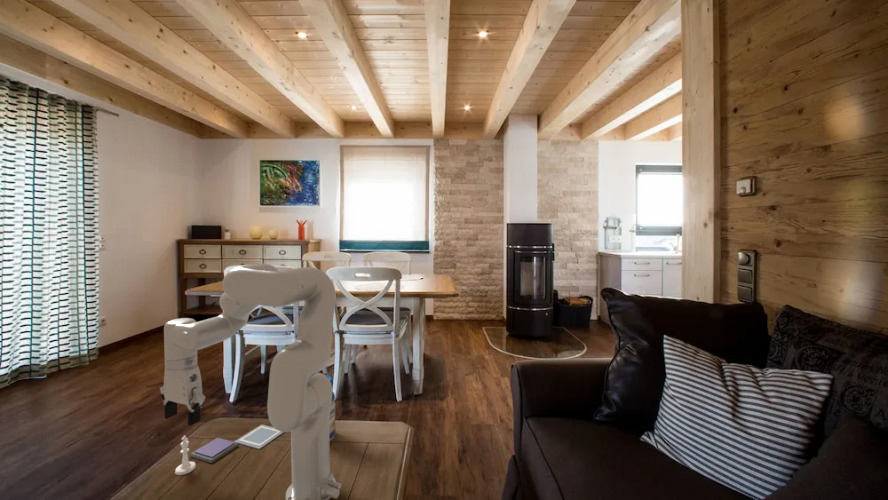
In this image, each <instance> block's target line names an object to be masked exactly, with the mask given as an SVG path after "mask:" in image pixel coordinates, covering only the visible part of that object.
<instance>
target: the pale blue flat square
mask: <svg viewBox="0 0 888 500" xmlns="http://www.w3.org/2000/svg"><path fill="white" fill-rule="evenodd" d="M284 433H285V432H281V431H278V430H277V429H275V428H274V427H273V426H269V425H266V424H259V426H256V427H255V428H253V429H252V430H250V431H249V432H247V433H245V434H244V435H242V436H241V437H239V438H237V439H236V440H234V441H233V442H236V443H238V445H241V446H247V447H249V448H254V449H255V450H261V449H262V448H264V447H265V446H266V445H268V444H269V443H271V442H272V441H274V440H275V439H277V438H278V437H280V436H282V434H284Z"/></svg>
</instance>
